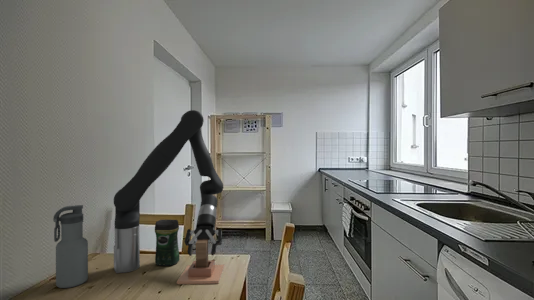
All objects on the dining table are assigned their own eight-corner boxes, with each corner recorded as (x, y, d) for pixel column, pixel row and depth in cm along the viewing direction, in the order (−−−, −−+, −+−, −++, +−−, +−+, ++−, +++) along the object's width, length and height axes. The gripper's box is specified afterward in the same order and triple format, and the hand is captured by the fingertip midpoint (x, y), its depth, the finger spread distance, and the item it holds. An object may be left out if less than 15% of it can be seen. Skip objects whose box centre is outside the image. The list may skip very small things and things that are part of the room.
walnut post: (206, 274, 108) (206, 242, 109) (195, 274, 108) (195, 242, 108) (208, 270, 112) (208, 239, 113) (198, 270, 112) (197, 239, 112)
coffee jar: (182, 260, 126) (181, 217, 127) (173, 267, 119) (173, 222, 119) (161, 259, 128) (161, 217, 128) (151, 266, 120) (151, 221, 120)
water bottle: (51, 291, 99) (51, 210, 99) (57, 280, 107) (57, 205, 108) (86, 285, 103) (85, 207, 103) (89, 275, 112) (89, 203, 112)
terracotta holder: (218, 283, 103) (218, 272, 103) (176, 284, 103) (176, 273, 103) (224, 267, 118) (224, 257, 118) (187, 267, 118) (187, 257, 118)
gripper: (188, 213, 118) (180, 250, 106) (222, 212, 118) (218, 249, 107) (191, 223, 123) (184, 259, 112) (224, 222, 123) (221, 258, 112)
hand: (201, 254), depth 109 cm, fingers open, 8 cm apart
